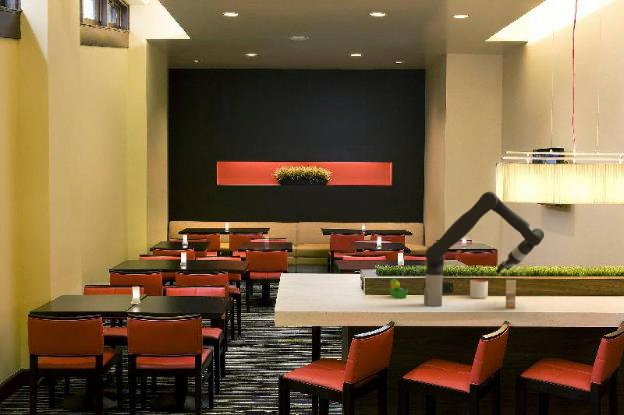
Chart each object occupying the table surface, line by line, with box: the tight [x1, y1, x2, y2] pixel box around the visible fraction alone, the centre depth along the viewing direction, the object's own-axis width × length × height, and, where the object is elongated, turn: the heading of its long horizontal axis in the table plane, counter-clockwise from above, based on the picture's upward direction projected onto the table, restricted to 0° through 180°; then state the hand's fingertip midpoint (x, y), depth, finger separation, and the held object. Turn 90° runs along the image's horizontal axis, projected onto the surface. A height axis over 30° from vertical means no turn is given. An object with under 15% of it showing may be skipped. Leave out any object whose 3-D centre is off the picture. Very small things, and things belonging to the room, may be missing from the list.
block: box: [505, 279, 517, 310], centre depth 446 cm, size 5×5×15 cm
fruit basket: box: [388, 278, 409, 300], centre depth 478 cm, size 11×9×11 cm
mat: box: [494, 300, 526, 311], centre depth 454 cm, size 24×16×1 cm, turn 168°
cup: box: [469, 279, 489, 300], centre depth 482 cm, size 10×10×10 cm
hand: (501, 270), depth 459 cm, fingers open, 8 cm apart
